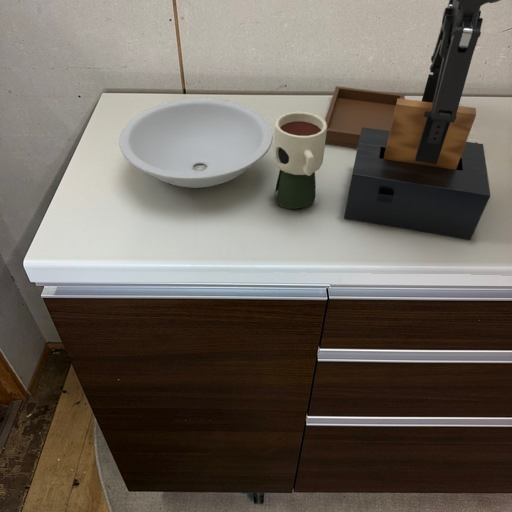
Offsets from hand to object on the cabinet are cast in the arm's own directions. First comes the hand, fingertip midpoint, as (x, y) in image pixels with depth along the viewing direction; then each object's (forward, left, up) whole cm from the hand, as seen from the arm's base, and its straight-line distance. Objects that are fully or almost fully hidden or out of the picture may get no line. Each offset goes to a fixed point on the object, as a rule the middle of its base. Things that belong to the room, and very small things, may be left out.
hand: (426, 139), depth 65 cm
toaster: (0, 0, -11) cm, 11 cm away
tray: (+9, -22, -11) cm, 26 cm away
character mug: (+17, +4, -11) cm, 21 cm away
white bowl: (+34, 0, -11) cm, 36 cm away
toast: (0, 0, -7) cm, 7 cm away
